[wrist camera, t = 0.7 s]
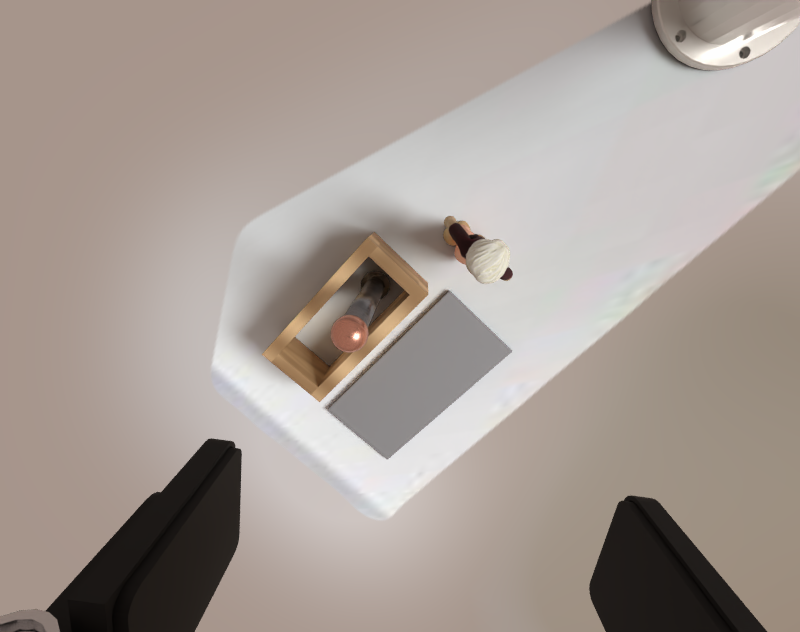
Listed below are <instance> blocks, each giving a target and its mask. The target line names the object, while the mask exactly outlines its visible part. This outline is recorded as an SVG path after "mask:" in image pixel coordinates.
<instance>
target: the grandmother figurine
mask: <svg viewBox="0 0 800 632" xmlns="http://www.w3.org/2000/svg"><path fill="white" fill-rule="evenodd" d="M444 225H445V226H446V227H447V228H446V229H445V231H444V234H443V236H444V240H445V241H446V242H447V243H448V244H449V245H453V246H454V245H456V248H455V253H454V254H455V257H456V259H457V260H458V261H459V262H461V263H462V264H465V265H466V266H467V269H468V270H469V272H470V273H471V274H473V276H474V277H475V278H476V280H477V281H478V282H480V283H483V284H489V283H493V282H496V281H497V280H499V279H502V280H504V281H508V280H510V279H511V278H512V275H513V273H512V270H511V269H510V268H509V258H510V250H509V248H508V246H506V244H505V243H504V242H503V241H502V240H499V239H494V240H489V239H485V238H484V237H483V236H481V235H476V234H474V233H472V232H471V231H470V227H469V225H468V224H467V223H466V222H465V221H460V222H457V221H456V220H455V218H454V217H453V216H448V217H446V218H445V220H444Z"/></svg>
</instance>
